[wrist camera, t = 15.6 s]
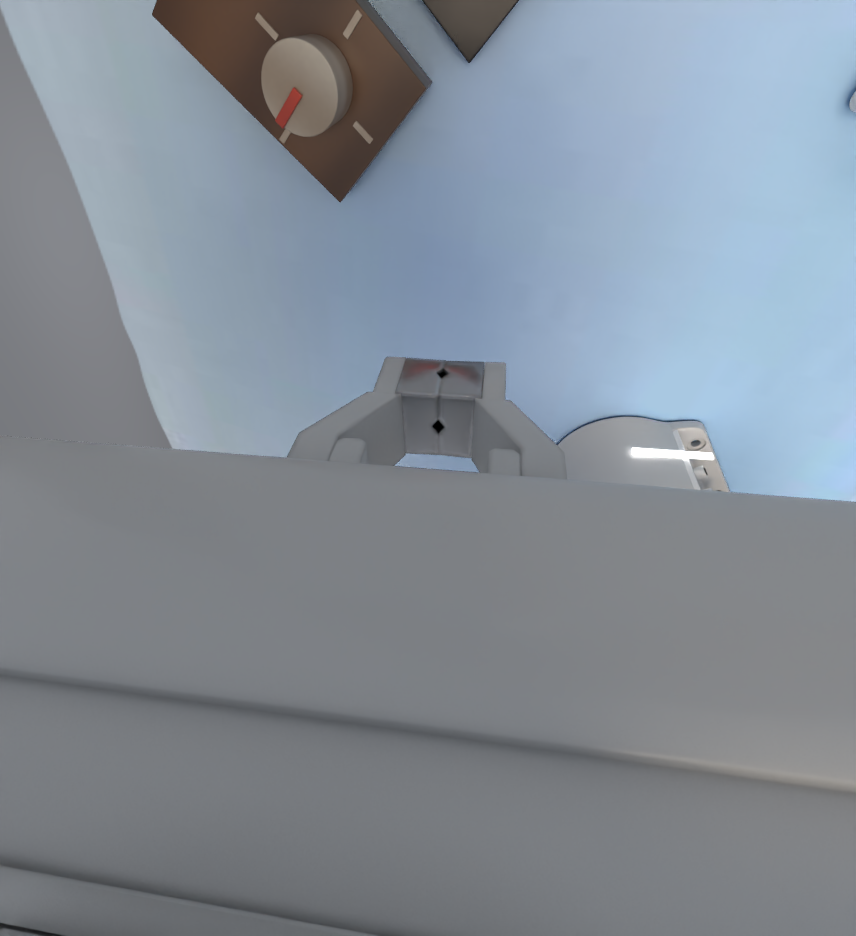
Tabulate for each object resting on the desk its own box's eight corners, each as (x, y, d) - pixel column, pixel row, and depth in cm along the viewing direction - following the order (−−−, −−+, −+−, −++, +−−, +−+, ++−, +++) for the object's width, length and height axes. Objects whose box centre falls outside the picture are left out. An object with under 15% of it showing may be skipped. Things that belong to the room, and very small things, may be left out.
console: (432, 82, 31) (426, 88, 29) (350, 190, 36) (339, 203, 34) (242, -158, 25) (216, -173, 23) (176, 13, 30) (149, 14, 28)
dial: (306, 12, 27) (284, 13, 24) (367, 80, 29) (352, 89, 26) (269, 83, 30) (244, 92, 27) (327, 142, 31) (309, 156, 29)
